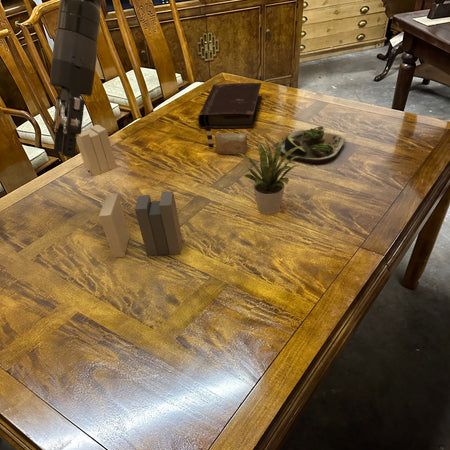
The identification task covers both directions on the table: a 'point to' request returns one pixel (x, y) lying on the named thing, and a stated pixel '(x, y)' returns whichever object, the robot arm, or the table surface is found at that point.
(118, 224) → the beige book
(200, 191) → the table surface
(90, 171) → the beige books
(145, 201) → the grey books
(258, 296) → the table surface
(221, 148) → the cuneiform tablet
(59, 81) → the robot arm
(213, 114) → the diary
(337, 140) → the salad plate
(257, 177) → the house plant
